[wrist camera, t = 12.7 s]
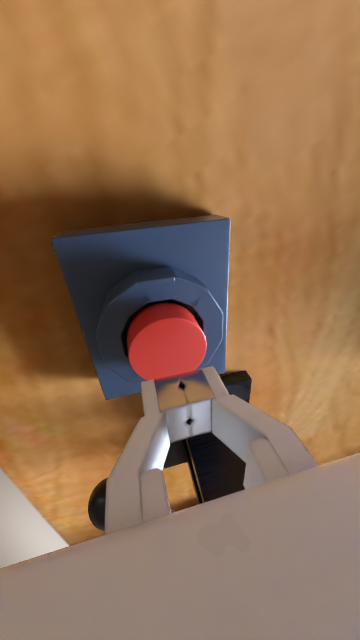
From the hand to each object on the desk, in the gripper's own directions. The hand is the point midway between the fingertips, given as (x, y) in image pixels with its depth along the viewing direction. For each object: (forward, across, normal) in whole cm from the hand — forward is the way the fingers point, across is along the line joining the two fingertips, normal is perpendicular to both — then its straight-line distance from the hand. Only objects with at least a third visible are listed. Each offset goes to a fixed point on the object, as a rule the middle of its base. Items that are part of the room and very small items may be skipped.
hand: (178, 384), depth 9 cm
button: (+4, 0, 0) cm, 4 cm away
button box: (+8, 0, 0) cm, 8 cm away
